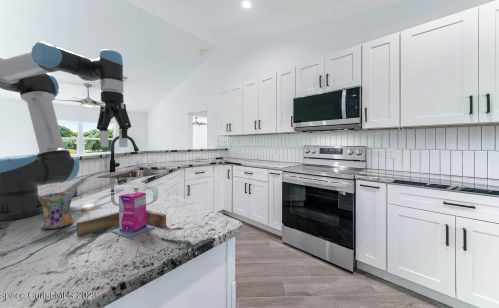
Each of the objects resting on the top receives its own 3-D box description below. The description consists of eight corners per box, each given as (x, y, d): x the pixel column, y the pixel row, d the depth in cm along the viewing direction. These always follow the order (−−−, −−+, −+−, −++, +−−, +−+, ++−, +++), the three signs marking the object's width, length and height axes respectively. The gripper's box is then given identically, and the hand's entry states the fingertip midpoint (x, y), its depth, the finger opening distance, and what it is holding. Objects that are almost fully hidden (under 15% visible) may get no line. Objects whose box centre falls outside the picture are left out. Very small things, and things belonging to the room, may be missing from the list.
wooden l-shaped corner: (77, 235, 67) (76, 222, 67) (136, 217, 84) (136, 207, 84) (106, 248, 59) (106, 233, 59) (166, 226, 75) (165, 214, 75)
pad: (111, 231, 70) (111, 230, 70) (138, 223, 78) (138, 222, 78) (127, 238, 65) (127, 236, 65) (154, 228, 73) (154, 227, 73)
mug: (79, 224, 77) (78, 194, 76) (44, 233, 69) (43, 199, 68) (66, 218, 83) (65, 190, 83) (32, 225, 75) (31, 195, 75)
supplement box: (118, 231, 69) (117, 195, 69) (132, 224, 75) (131, 191, 75) (134, 233, 68) (133, 196, 68) (147, 226, 74) (146, 192, 73)
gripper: (85, 94, 89) (87, 146, 90) (120, 85, 77) (121, 147, 77) (105, 97, 96) (107, 146, 97) (140, 90, 83) (141, 147, 84)
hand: (113, 147), depth 87 cm, fingers open, 13 cm apart
